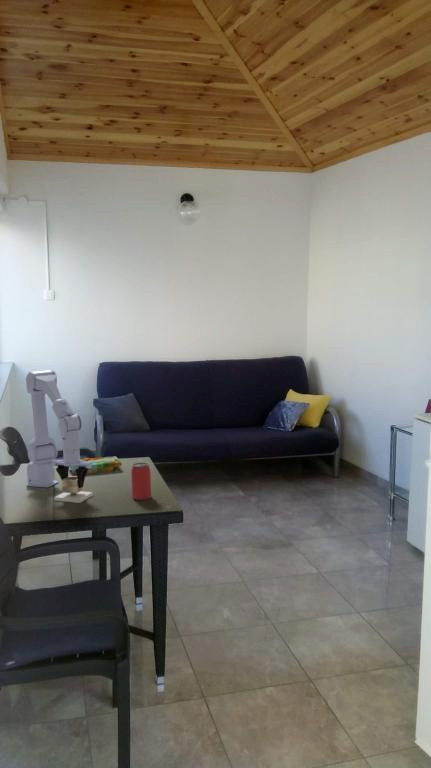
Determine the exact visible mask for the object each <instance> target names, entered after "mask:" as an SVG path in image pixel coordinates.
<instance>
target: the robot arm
mask: <svg viewBox="0 0 431 768" xmlns="http://www.w3.org/2000/svg"><path fill="white" fill-rule="evenodd" d="M25 383H26V384H25V385H26V390H27V392H26V393H28V394H29V395H31V397H30V399H31V408H32V417H33V427H34V431H33V432H34V437H33V438H32V439H31V440H30V441H29V442H28V444H27V448H28V449H27V457H28V460H29V462H28V464H27V467H26V477H27V478H26V479H27V484H26V486H27V487H38V488H49V487H51V486H54V485H56V484H58V483H59V482H60V481H59V480H55V476H54V472H56V473H57V474H58V476H59V478H60V480H61V481H62V479H64V478H67V477H69V471H70V467H79V468H78V469H76V470H75V471H76V474H77V475H76V476H77V478H78V487H79V488H82V487H83V484H84V485H85V479H86V475H88V474H87V471H88V469H89V468H91V467H92V463H91V462H87V461H83V460H81V454H80V452H81V451H80V450H81V449H80V432H79V431H80V430H81V429H82V419H81V417H80V414H78V413H76V412H74V411H73V409H72V407H71V406H70V404H69V402H68V400H67V399H63V397H62V395H61V393H60V391H59V388H58V386H57V383H58V377H57V373H56V371H55V370H54V369H49V370H41V371H39V370H37V371H28V373H27V375H26V378H25ZM45 395H47V397H48V398H49V400H50V401H51V402H52V406H51V409H52V411H53V412H54V415H55V416H56V418H57V420H58V428H59V432H60V436H61V438H62V451H63V452H62V453H63V455H62V456H63V458H62V459H56V458H57V457H58V448H57V444H56V441H55V439H54V438H53V437H51V436H49V428H48V427H49V426H48V419H47V418H48V415H47V407H46V406H47V405H46V404H47V403H46V396H45ZM56 466H57V467H56ZM54 467H56V468H55V471H54Z"/></svg>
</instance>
